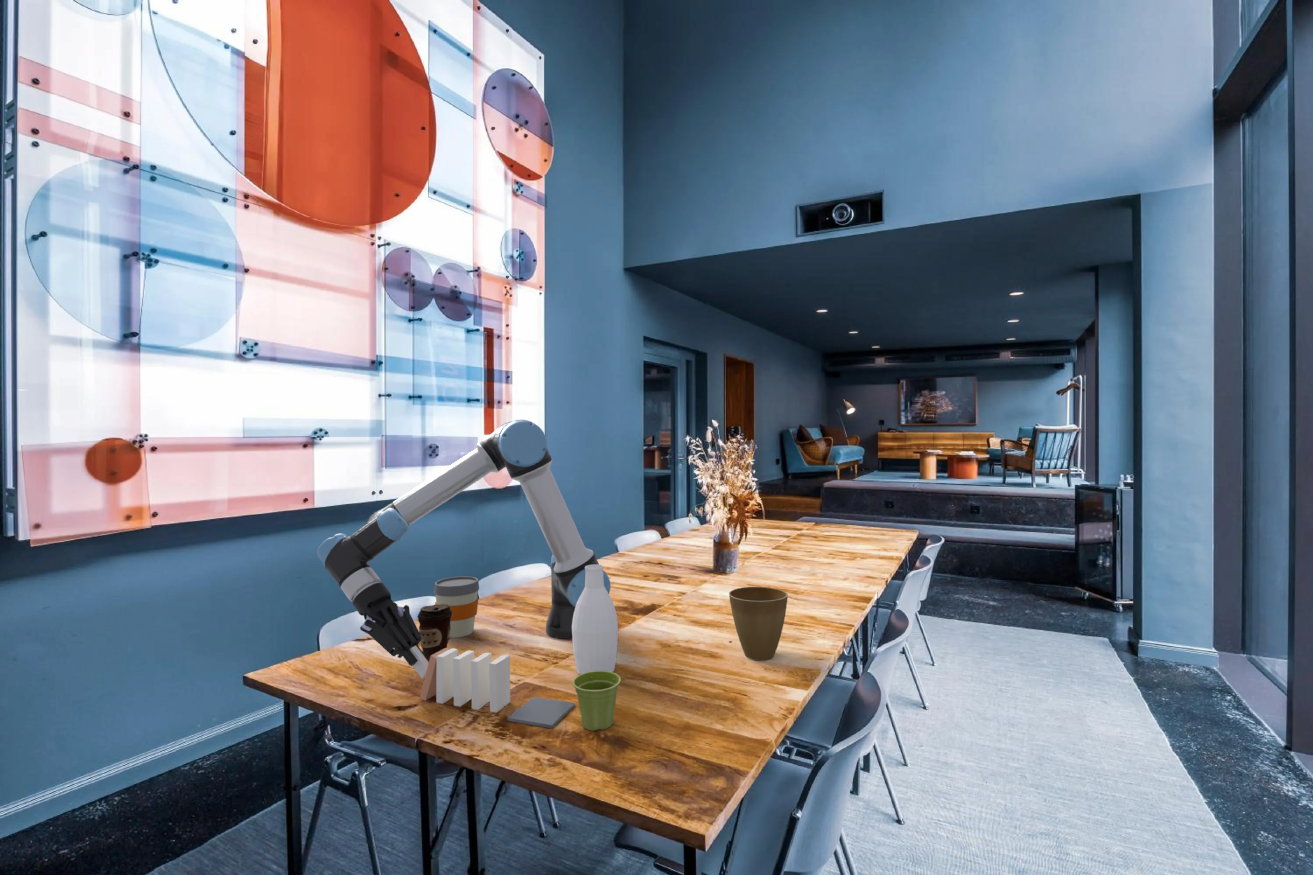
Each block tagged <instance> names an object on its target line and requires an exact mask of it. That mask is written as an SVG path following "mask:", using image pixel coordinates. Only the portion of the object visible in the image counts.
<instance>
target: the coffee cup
mask: <svg viewBox="0 0 1313 875" xmlns="http://www.w3.org/2000/svg"><path fill="white" fill-rule="evenodd" d="M419 610H420V611H419V613H418V614H417V621H418V623H419V626H418V631H419V633H420V635H421V637H422V640H421V641H420V642H419V644H420V647H421V650H422V652H423V653H424V654H425V658H426V660H427V661H429V660H430V656H431V655H433V654H435V653H437V652H439V651H440V650H442V649H444V648H448V643H449V641H450V639H451V638H450V630H451V626H450V621H451V616H452V610H450V606H449V605H446V604H439V605H435V604H431V605H424V606H422V607H421V608H420V609H419Z"/></svg>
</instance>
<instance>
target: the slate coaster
mask: <svg viewBox="0 0 1313 875" xmlns="http://www.w3.org/2000/svg"><path fill="white" fill-rule="evenodd" d="M574 706H576V702H574V701H573V702H571V701H567V700H559V699H551V698H545V697H538V696H532V697H531V698H530V699H529V700H528V701H526V702H525V703H524V704H523V705H522V706H520V707H519V708H518V709H517V710H516V711H514V712H513V713H512V714H510V715H508V717H507V721H508V722H513V723H516V724H517V723H520V724H524V725H530V726H537V727H543V728H549V729H553V728H554V727H555V726H556V725H557V724H558V723H559V722H561V720H562V719H563V718H564V717H566V716H567V715H568V714H569V712H570V711H572V709H573V708H575V707H574Z"/></svg>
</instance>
